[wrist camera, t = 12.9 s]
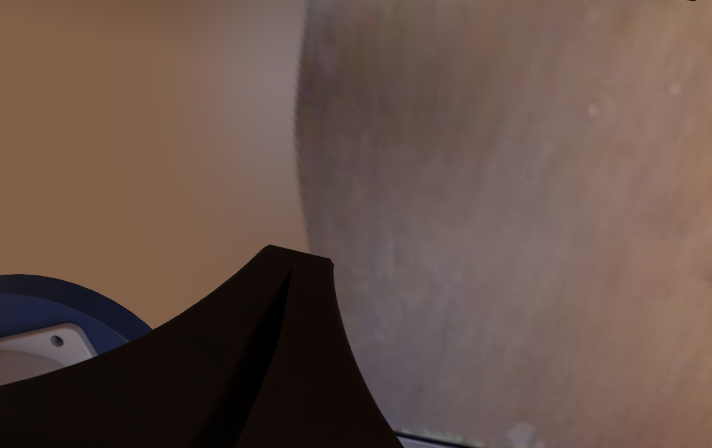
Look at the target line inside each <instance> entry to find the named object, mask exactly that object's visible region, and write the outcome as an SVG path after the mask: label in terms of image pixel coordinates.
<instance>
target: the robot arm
mask: <svg viewBox="0 0 712 448" xmlns="http://www.w3.org/2000/svg"><path fill="white" fill-rule="evenodd" d="M333 270H334V264H333V263H332V261H331V260H330V259H329V258H325V257H320V256H316V255H312V254H308V253H303V252H299V251H295V250H291V249H286V248H282V247H278V246H274V245H268V246H266V247H264V248H263V249H262V250H261V251H260V252H259V253H258V254H257V255H256V256H255V257H254V258H253V259H251V260H250V261H249V262H248V263H247V264H246V265H245V266H244V267H243V268H241V269H240V270H239V271H238V272H237V273H236V274H234V275H233V276H232V277H231V278H229V279H228V280H227V281H226V282H224V283H223V284H222V285H221V286H219V287H218V288H217V289H215V290H214V291H213V292H212V293H210V294H209V295H207V296H206V297H205V298H203V299H202V300H200V301H199V302H197V303H196V304H194V305H193V306H191V307H190V308H188V309H187V310H186V311H184V312H183V313H181V314H180V315H178V316H176V317H175V318H173V319H171V320H170V321H168V322H166V323H164V324H163V325H161V326H159V327H158V328H156V329H154V330H152V331H150V332H148V333H146V334H144V335H143V336H141V337H139V338H136V339H134V340H132V341H130V342H128V343H125V344H123V345H121V346H119V347H116V348H114V349H112V350H109V351H107V352H105V353H102V354H100V355H98V354H97V352H96V350H95V349H94V347H93V345H92V344H91V342H90V341H89V339H88V337H87V336H86V334H85V333H84V331H83V330H82V329H81V327H79V326H78V325H76V324H73V323H64V324H59V325H55V326H51V327H46V328H42V329H38V330H33V331H29V332H24V333H20V334H16V335H11V336H7V337H3V338H0V448H404V447H403V445H402V444H401V442H400V441H399V439H398V438H397V436H396V435H395V433H394V432H393V430H392V428H391V427H390V425H389V424H388V422H387V421H386V419H385V418H384V416H383V415H382V413H381V411H380V410H379V408H378V406H377V404H376V402H375V400H374V399H373V397H372V395H371V393H370V391H369V389H368V387H367V385H366V383H365V381H364V379H363V377H362V375H361V373H360V370H359V368H358V366H357V363H356V361H355V358H354V356H353V353H352V350H351V347H350V345H349V342H348V339H347V336H346V333H345V330H344V326H343V323H342V319H341V315H340V311H339V308H338V303H337V298H336V292H335V286H334V273H333ZM57 336H58V337H60V338H61V339H62V340H61V339H59V338H58V337H57Z"/></svg>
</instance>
